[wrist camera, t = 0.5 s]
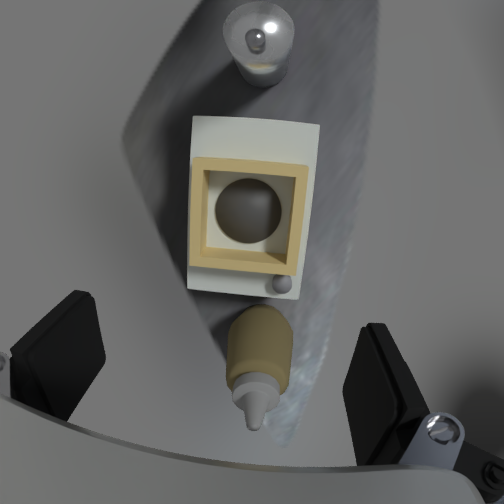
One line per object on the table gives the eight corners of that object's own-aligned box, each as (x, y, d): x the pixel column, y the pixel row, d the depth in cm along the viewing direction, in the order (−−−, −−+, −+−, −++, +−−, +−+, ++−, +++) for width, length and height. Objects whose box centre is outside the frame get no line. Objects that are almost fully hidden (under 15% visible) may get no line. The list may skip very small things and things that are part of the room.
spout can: (241, 43, 30) (221, -12, 16) (289, 46, 30) (297, -9, 16) (237, 86, 32) (213, 50, 18) (286, 89, 32) (294, 54, 18)
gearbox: (205, 120, 33) (184, 112, 25) (312, 128, 33) (324, 122, 24) (199, 267, 39) (180, 301, 31) (295, 277, 39) (300, 313, 30)
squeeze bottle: (241, 350, 43) (224, 453, 26) (224, 302, 41) (194, 401, 24) (297, 340, 42) (306, 445, 25) (285, 289, 40) (290, 390, 23)
